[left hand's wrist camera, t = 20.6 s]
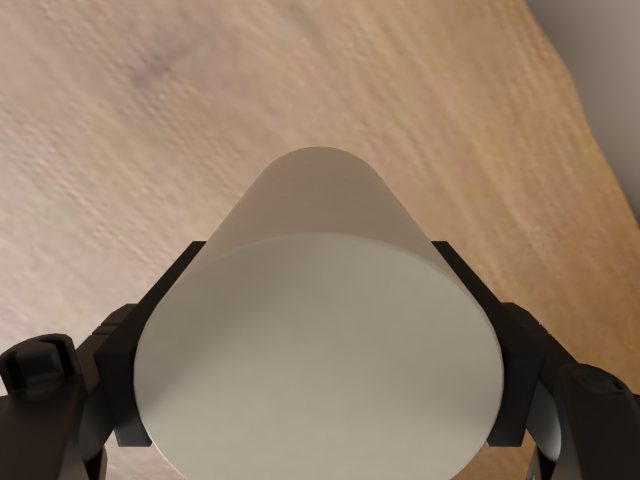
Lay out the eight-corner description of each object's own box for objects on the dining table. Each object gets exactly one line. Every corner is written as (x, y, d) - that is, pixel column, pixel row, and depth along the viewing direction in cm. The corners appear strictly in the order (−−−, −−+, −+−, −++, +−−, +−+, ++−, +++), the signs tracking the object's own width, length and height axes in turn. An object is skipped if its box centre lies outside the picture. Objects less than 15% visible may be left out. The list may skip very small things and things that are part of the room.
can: (377, 296, 21) (446, 537, 10) (239, 278, 21) (138, 507, 9) (409, 159, 18) (566, 265, 7) (250, 135, 18) (121, 203, 6)
